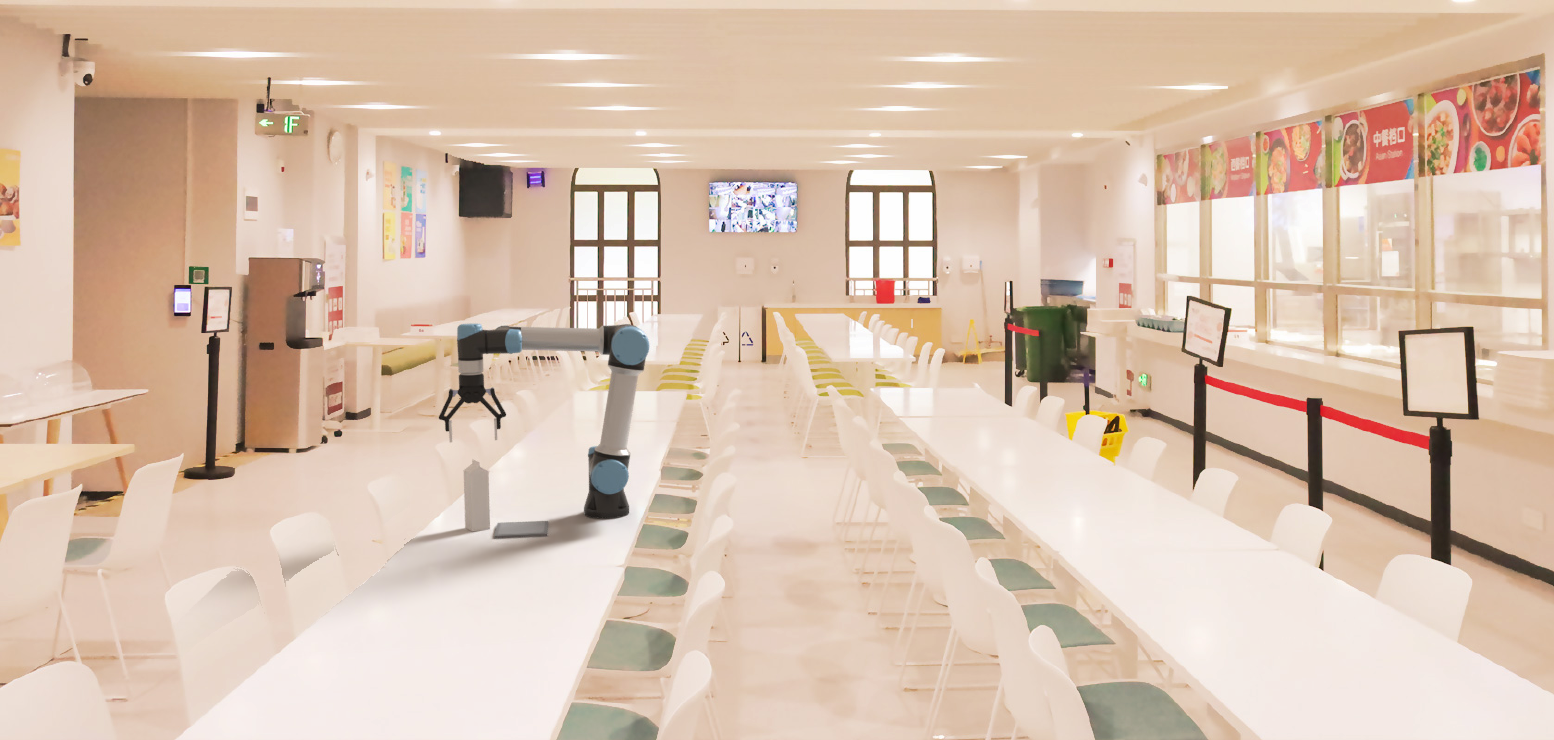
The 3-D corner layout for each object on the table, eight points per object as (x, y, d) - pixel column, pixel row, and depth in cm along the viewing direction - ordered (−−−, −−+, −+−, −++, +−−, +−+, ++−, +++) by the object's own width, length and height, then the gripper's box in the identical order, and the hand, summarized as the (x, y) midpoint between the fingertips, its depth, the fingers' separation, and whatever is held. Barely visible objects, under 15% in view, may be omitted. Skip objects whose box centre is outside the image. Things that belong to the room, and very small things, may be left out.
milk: (472, 532, 341) (469, 463, 338) (465, 528, 345) (462, 460, 343) (490, 529, 344) (488, 461, 342) (483, 525, 349) (481, 457, 346)
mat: (548, 523, 352) (548, 520, 352) (547, 536, 336) (547, 533, 336) (497, 525, 349) (497, 522, 349) (494, 538, 333) (494, 535, 333)
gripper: (512, 370, 344) (514, 436, 346) (429, 373, 338) (432, 440, 340) (512, 373, 337) (514, 440, 339) (428, 376, 330) (431, 444, 333)
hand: (473, 440), depth 340 cm, fingers open, 13 cm apart
